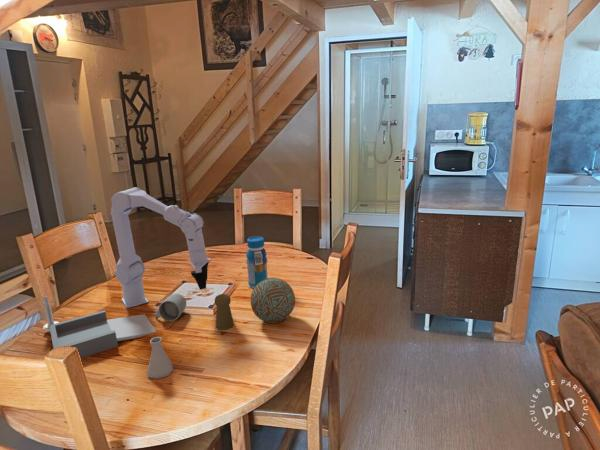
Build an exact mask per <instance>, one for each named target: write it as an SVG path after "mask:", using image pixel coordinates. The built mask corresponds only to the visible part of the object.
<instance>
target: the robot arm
mask: <svg viewBox="0 0 600 450" xmlns="http://www.w3.org/2000/svg"><path fill="white" fill-rule="evenodd" d="M110 200H111V208H110V216H111V219H112V226H113V230H114V234H115V239H116V245H117V248H118V254H119V259H118V261H117V263H116V265H115V267H116V269H115V270H116V271H115V278H116V280H117V281H118V282H119V283H120V285H121V287H122V288H121V289H122V295H123V297H122V298H121V301H122V303H123V304H124V306H125V308H126V309H129V308H133V307H136V306H140V305H143V304H144V305H145V304H148V303H149V300H148V299H147V296H145V289H144V283H143V277H144V276H143V275H144V273H145V271H146V267H145V264H144V263H143V261H142V258H141V256H139V255H137V254H136V249H135V243H134V239H133V238H134V237H133V233H132V226H131V222H130V218H129V213H131V211H132V210H133V209H134V208H140V207H144V208H146V209H148V210H151V211H154V212H156V213H158V214H160V215H162V216H163V219H164V220H165V221H167V222H168V223H171V224H172V225H175V226H177V227H179V228H180V230H181V232H182V233H183V234H184V237H185V239H186V243H187V249H188V250H187V251H188V254H189V260H190V262H189V263H190V265H191V266H192V268H193V269H194V270H191V272H190V274H191V276H192V277H193V279H194V280H195V281H196V285H197V286H198V288H199V290H206V289H207V281H208V271H209V270H208V268H209V263H210V262H211V261H212V259H211V258H210V257H209V258H208V256H207V251H206V245H205V239H204V234H203V227H204V219H203V218H202V216H201V215H199V214H198V213H190V212H189V211H186V210H183V209H181V208H179V206H178V205H177V204H175V205H173V204H171V205H169V206H168V205H166V204H164V203H163V202H161V201H160V200H158V199H156V198H155V197H153V196H151V195H149V194H148V193H147V192H146V191H145V190H142V189H141V188H139V187H135V186H134V187H131V188H129V189H126V190H122V191H118V192H116V193H114V194H113V196H112V197H111V198H110Z"/></svg>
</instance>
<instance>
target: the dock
mask: <svg viewBox="0 0 600 450" xmlns="http://www.w3.org/2000/svg"><path fill="white" fill-rule="evenodd" d="M49 327H50V332H51V333H50V335H51V342H52V349H53V350H54V349H55V348H57V347H60V346H71V347H76V348H77V349H78V352H79V355H80V357H82V358H81V359H84V358H86V357H89V356H92V355H96V354H99V353H101V352H104V351H108V350H111V349H113V348H118V347H119V344H118V342H121V341H127V340H133V339H137V338H141V337H145V336H148V335H151V334H154V333H156V332H157V330H156V329H155V327H154V326H153V325H152V323H151V322H150V320H149V319H148V317H147V316H146V314H145V313H144V314H138V315H131V316H123V317H116V318H110V319H108V317H107V313H106V310H101V311H97V312H93V313H89V314H86V315H82V316H77V317H75V318H71V319H68V320H64V321H59V323H56V324H52V325H49Z"/></svg>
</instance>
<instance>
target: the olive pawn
mask: <svg viewBox="0 0 600 450" xmlns="http://www.w3.org/2000/svg"><path fill="white" fill-rule="evenodd" d="M231 300H232V299H231V297H230V295H229V294H227V293H220V294H218V295H216V296H215V298H214V305H215V306H216V314H215V315H216V320H215V328H216V329H217V330H219V331H227V330H231V329H232V328H233V327H234V326H235V323H234V319H233V315H232V310H231V306H230V304H231V302H232V301H231Z"/></svg>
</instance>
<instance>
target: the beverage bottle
mask: <svg viewBox="0 0 600 450" xmlns="http://www.w3.org/2000/svg"><path fill="white" fill-rule="evenodd" d="M246 244H247V248H248V249H247V252H246V255H245V257H246V258H247V259H246V266H247V278H248V281H247V282H248V286H249V287H250V288H251V289H254V288H255V286H256V285H257V284H258V283H259V282H261V281H263V280H265V279H267V278H269V277H268V275H269V274H268V273H269V272H268V258H267V255H268V254H267V251H266V249H265V248H264V246H265V238H264V237H262V236H258V235H257V236H250V237H248V238H247V240H246Z"/></svg>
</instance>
